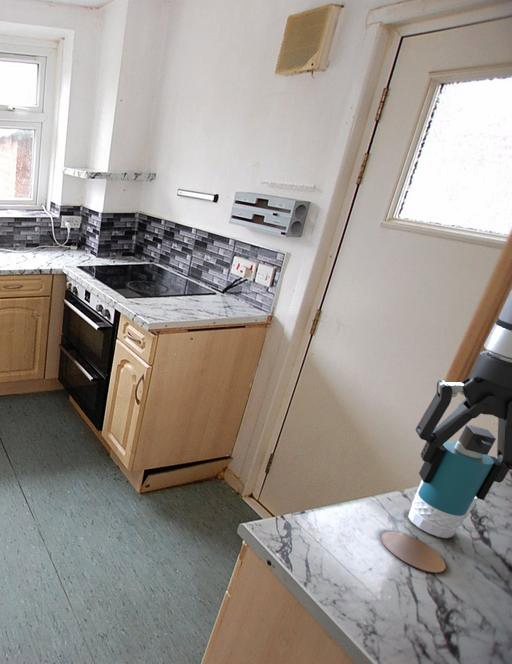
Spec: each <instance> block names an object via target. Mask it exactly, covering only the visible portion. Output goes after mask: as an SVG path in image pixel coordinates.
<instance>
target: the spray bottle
mask: <svg viewBox="0 0 512 664" xmlns="http://www.w3.org/2000/svg"><path fill="white" fill-rule="evenodd" d="M496 440H497V438H496V437H495V436H494V434H492V432H490V430H489V429H486V428H482V427H480V426H479V427H478V426H474V425H471V424H466V425H465V426H464V429H463V431H462V432H461V435H460V436H459V439H458V440H457V441H452V440H451V441H449V440H447V441H446V442H445V443H444V444H443V447H444V448H445V450H446V452H445V454H444V456H443V458H442V460H441V462H440V464H439V466H438V468H437V470H436V472H435V474H434V476H433V477H432V479H431V481H430V483H429V484H428V483H425V482H423V484H422V486H421V488H420V490H419V492H418V494H419V496H420V498H421V499H422V500H423V501H424V502H426V503H427V504H429V505H430V506H432V507H434V508H436V509H438V510H440V511H442V512H445V513H448V514H451V515H456V516H463V515H465V514H466V512H467V511H468V509H469V507H470V505H471V503H472V502H473V500H474V498H475V496H476V494H477V493H478V491H479V489H480V487H481V485H482V484H483V482H484V480H485V478H486V476H487V475H488V473H489V471H490V469H491V467H492V466H493V464H494V460H493V459H492V458H491V457H490V456H491V455H488V454H489V452H490V451H491V449H492V448H493V445H494V444H495V442H496Z"/></svg>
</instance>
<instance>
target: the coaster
mask: <svg viewBox="0 0 512 664" xmlns="http://www.w3.org/2000/svg"><path fill="white" fill-rule="evenodd" d="M381 542H382V544H383V545H384V547H385V548H386V549H387V551H389V552H390V553H391V554H392V555H393V556H395V557H396V558H397V559H398V560H400V561H402V562H403V563H405V564H406V565H409V566H410V567H413V568H415V569H417V570H421V571H423V572H427V573H433V574H440V573H443V572H444V571H445V570H446V567H447V566H446V562H445V560H444V559H443V558H442V556H441V555H440V554H439V553H438V552H437V551H436V550H435V549H433V548H432V547H430V546H429V545H428V544H427V543H425V542H423V541H421V540H419V539H417V538H415V537H413V536H412V535H408V534H406V533H402V532H399V531H385V532H383V533H382V535H381Z"/></svg>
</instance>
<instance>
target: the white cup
mask: <svg viewBox="0 0 512 664" xmlns="http://www.w3.org/2000/svg"><path fill="white" fill-rule="evenodd" d="M422 484H423V480H422V479H421V480H420V482H419V485H418V488H417V490H416V493H415V495H414V497H413V500H412V503H411V507H410V510H409V512H408V516H407V517H408V519H409V521H410V523H412V524H413V525H414V526H416V527H417V528H418V529H420V530H422V531H424V532H426V533H427V534H429V535H433V536H435V537H438V538H443V539H449V538H452V537H454V535H455V533H456V532H457V530H458V528H459V527H461V525H462V524H463V523H464V521H465V520H466V518H467V517H468V516H469V514H470V513H471V511H472V509H473V508H474V506H475V505H476V504H477V502H478V501H479V499H478V498H477V497H476V496H475V498H474V500H473V502H472V503H471V505H470V507H469V509H468V511H467V512H466V514H465V515H463V516H456V515H451V514H448V513H445V512H442V511H440V510H438V509H436V508H434V507H432V506H430V505H429V504H427V503H426V502H424V501H423V500H422V499H421V498H420V496H419V494H418V492H419V490H420V488H421V486H422Z"/></svg>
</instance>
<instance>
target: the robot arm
mask: <svg viewBox="0 0 512 664" xmlns="http://www.w3.org/2000/svg"><path fill="white" fill-rule="evenodd" d="M483 347H484V349H485V350H483V351H481V352H480V353H479V354H478V357H477V359H476V360H475V363H474V365H473V367H472V368H471V371H470V374H469V376H468V377H466V378H465V379H464V380H462V381H461V382H447V380H444V379H439V380H437V382H436V392H435V395H434V396H433V398H432V400H431V401H430V403H429V405H428V407H427V408H426V410H425V411H424V413H423V415H422V417H421V418H420V421H419V422H418V424H417V426H416V427H415V432H416V434H417V436H418V437H419V438H420V440H422V441H425V443H424V446H423V448H422V450H421V453H420V458H421V460H422V461H423V464H422V465H421V467H420V470H419V472H418V474H419V476H420V478H421V480H423V482H425V483H428V484H429V483H430V481H431V479H432V477H433V476H434V474H435V472H436V470H437V468H438V466H439V464H440V462H441V460H442V458H443V456H444V454H445V452H446V450H445V448H444V447H443V444H444V443H445V442H446V441H449V440H450V439H451V438H452V437H454V436H455V434H457V433H458V432H460V430H461V429H462V428H464V427H465V426H466V425H468V424H469V422H470V421H471V420H473V419H476V418H478V417H479V416H480V415H487V416H489V415H490V416H493V417H495V418H497V419H498V421H497V422H498V423H497V442H496V443H497V444H496V445H497V446H496V457H495V456H492V455H489V456H490V457H491V458H492V459H493V460H494V464H493V466H492V467H491V469H490V471H489V473H488V475H487V476H486V478H485V480H484V482H483V484H482V485H481V487H480V489H479V491H478V493H477V494H476V497H477V498H478V500H481V501H484V500H485V499H486V497H487V495H488V493H489V491H490V489H491V488H492V486H493V485H494V483H495V482H496V483H499V484H500V483H502V482H504V480H505V478H506V477H507V474H508V473H509V472H510V470H511V471H512V288H511V289H510V291H509V294H508V296H507V298H506V300H505V302H504V304H503V307H502V309H501V311H500V314H499V316H498V317H497V319H496V321H495V322H494V324H493V326H492V328H491V330H490V332H489V334H488V336H487V338H486V340H485V342H484V344H483ZM460 392H462V394H463V395H464V397H465V398H464V399H463V400H462V401H461V402H460V403H459V404H458V407H457V408H456V409H455V410H454V411H452V413H450V414H449V415H448V416H447V417H446V418H445V419H444V420H443V421H442V422H441V423H440V421H441V419H442V417H443V416H444V414H445V413H446V411H447V409H448V408H449V406H450V404H451V402H452V399H453V398H456V397H457V396H458V394H459V393H460Z"/></svg>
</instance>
